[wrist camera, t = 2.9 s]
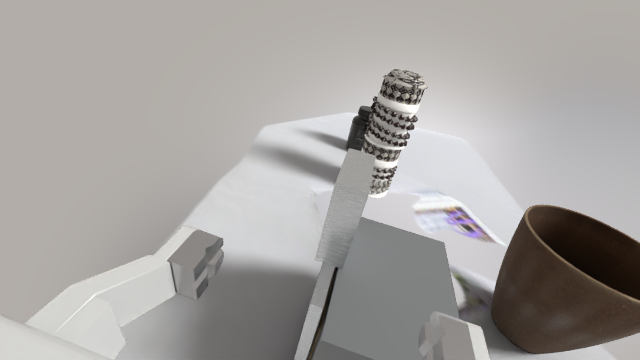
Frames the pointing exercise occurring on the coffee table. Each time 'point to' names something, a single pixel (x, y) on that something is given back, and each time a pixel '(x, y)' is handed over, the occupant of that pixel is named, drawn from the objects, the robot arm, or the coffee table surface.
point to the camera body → (383, 296)
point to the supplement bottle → (359, 129)
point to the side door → (338, 234)
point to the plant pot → (567, 283)
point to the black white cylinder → (391, 125)
